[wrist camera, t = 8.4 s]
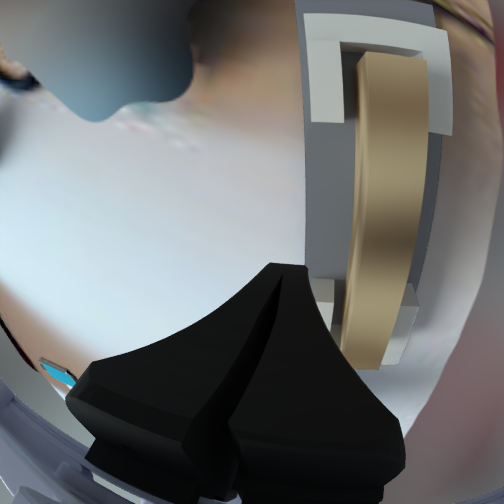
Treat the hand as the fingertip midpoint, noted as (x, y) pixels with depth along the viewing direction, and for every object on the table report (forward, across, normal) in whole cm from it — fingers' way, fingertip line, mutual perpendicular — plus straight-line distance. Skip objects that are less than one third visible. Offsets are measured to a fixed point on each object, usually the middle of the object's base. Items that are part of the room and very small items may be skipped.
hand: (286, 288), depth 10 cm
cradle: (+9, -4, 0) cm, 10 cm away
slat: (+8, -4, 0) cm, 9 cm away
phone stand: (+10, +46, +38) cm, 61 cm away
